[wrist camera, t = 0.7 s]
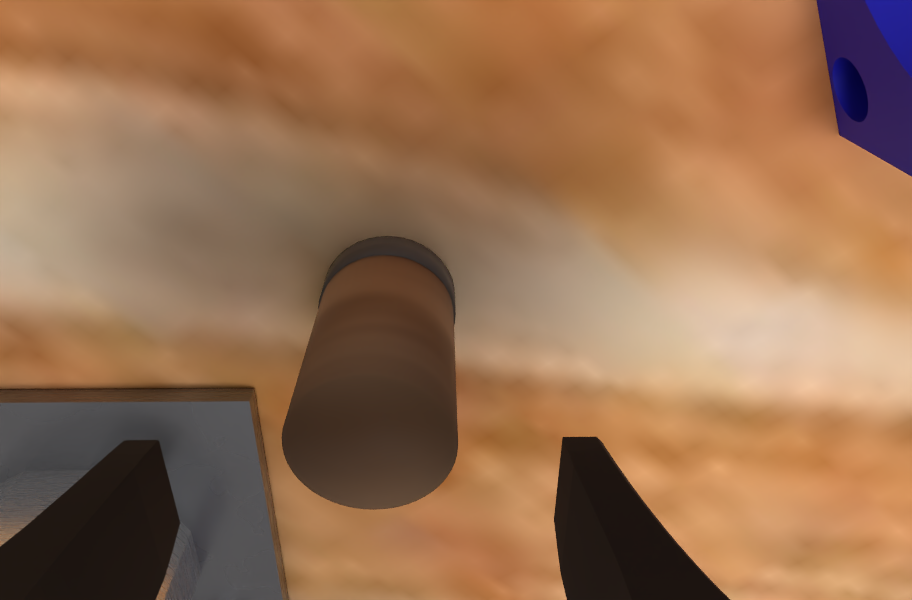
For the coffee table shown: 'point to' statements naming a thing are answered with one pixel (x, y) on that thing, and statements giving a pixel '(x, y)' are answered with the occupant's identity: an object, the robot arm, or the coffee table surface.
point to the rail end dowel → (377, 379)
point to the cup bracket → (188, 466)
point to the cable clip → (871, 74)
